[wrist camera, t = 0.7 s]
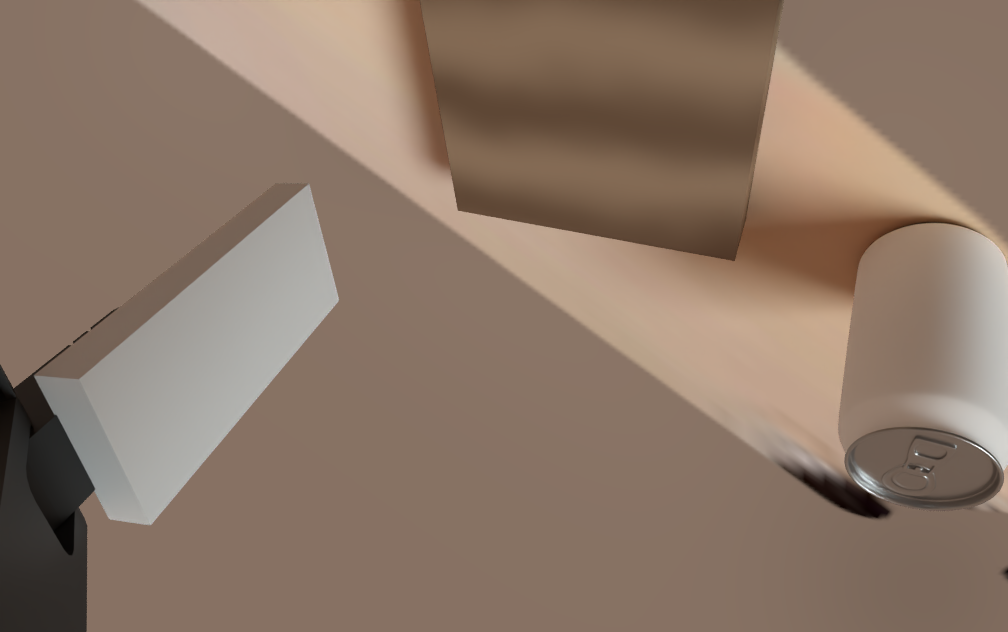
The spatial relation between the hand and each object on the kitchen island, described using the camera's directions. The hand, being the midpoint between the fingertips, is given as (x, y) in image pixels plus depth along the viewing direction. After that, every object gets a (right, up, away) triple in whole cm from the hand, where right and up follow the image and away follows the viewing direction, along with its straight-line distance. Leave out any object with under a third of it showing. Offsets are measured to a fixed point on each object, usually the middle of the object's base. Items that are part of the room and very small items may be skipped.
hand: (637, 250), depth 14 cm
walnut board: (+2, +10, +23) cm, 25 cm away
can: (+19, +1, +24) cm, 30 cm away
